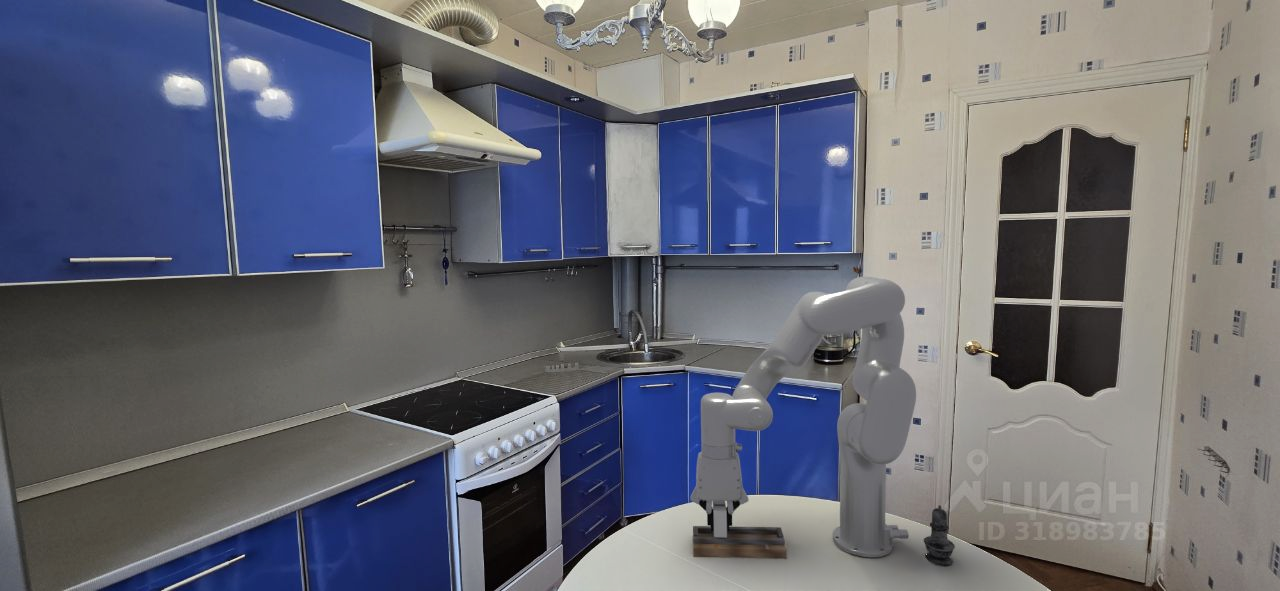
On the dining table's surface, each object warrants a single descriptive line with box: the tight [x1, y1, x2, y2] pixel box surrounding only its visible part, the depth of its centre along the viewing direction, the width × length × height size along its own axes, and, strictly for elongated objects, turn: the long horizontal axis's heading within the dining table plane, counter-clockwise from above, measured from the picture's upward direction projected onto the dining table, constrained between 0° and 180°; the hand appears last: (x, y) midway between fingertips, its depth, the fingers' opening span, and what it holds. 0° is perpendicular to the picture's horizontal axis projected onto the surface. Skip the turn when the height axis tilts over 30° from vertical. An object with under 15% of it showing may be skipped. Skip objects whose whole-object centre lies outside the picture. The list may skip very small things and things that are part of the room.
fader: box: [712, 501, 727, 537], centre depth 125 cm, size 3×6×7 cm, turn 175°
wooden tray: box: [692, 525, 787, 560], centre depth 125 cm, size 20×9×4 cm, turn 85°
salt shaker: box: [923, 504, 956, 567], centre depth 118 cm, size 6×6×12 cm
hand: (719, 527), depth 126 cm, fingers closed on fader, 2 cm apart
